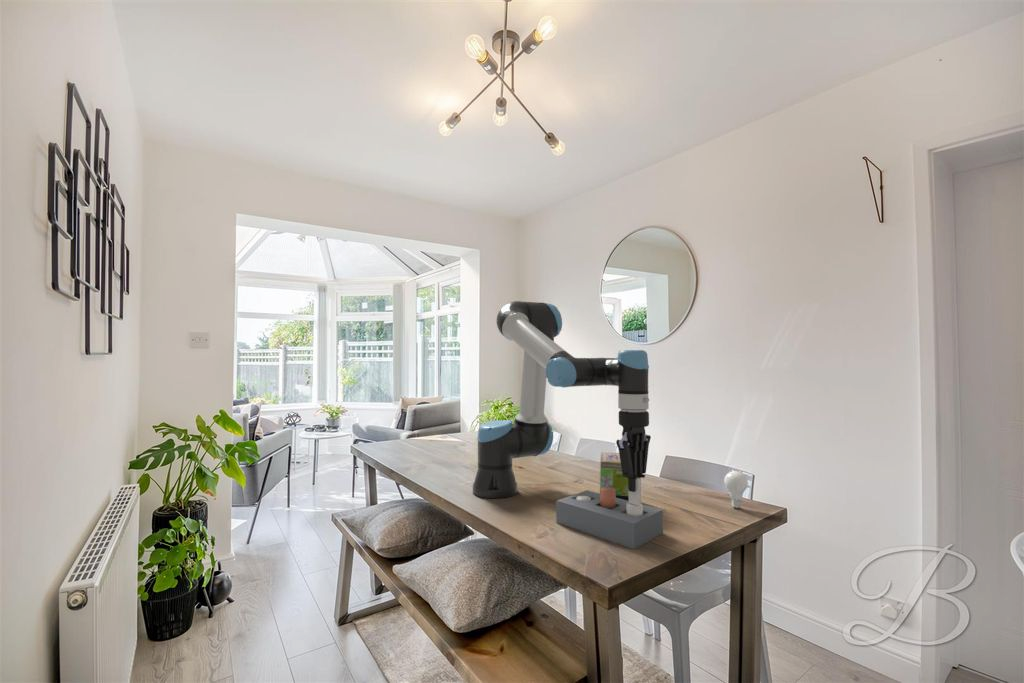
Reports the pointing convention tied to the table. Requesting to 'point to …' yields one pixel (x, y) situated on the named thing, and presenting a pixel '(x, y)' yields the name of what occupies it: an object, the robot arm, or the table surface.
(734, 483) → the lightbulb
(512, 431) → the robot arm
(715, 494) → the table surface
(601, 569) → the table surface
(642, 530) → the board
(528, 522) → the table surface
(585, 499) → the grey plunger
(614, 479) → the tea box
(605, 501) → the brown egg
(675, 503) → the table surface
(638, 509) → the grey plunger
